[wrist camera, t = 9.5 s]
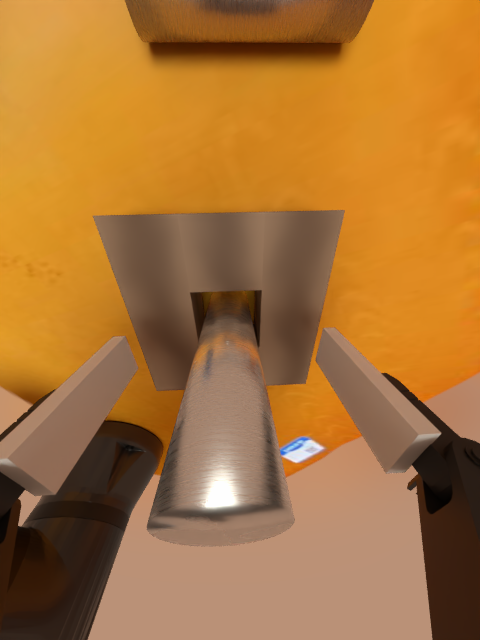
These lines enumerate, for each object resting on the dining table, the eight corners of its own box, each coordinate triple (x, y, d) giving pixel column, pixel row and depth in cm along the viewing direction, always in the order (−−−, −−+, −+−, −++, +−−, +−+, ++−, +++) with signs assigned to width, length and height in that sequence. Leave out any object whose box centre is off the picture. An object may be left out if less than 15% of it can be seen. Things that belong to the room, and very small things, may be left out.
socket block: (170, 361, 22) (156, 390, 18) (129, 218, 15) (92, 215, 11) (292, 356, 23) (305, 383, 19) (315, 214, 15) (344, 210, 11)
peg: (212, 318, 20) (166, 550, 6) (208, 284, 18) (124, 507, 4) (247, 317, 20) (286, 541, 6) (247, 283, 18) (305, 495, 4)
